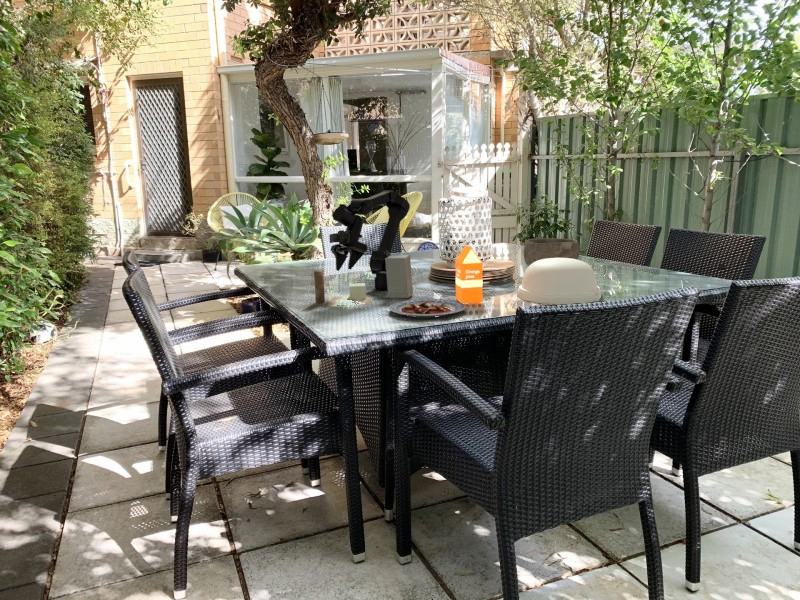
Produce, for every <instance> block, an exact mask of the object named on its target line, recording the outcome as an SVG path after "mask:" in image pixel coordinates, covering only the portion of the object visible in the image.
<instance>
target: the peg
mask: <svg viewBox="0 0 800 600" xmlns="http://www.w3.org/2000/svg"><path fill="white" fill-rule="evenodd" d="M324 278H325V277H324V270H320V269H319V270H318V269H317V270H313V279H314V281H313V282H314V297H315V304H319V305H321V304H325V303H326V300H325V299H326V297H325V281H324V280H325V279H324Z"/></svg>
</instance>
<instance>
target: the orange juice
mask: <svg viewBox="0 0 800 600" xmlns="http://www.w3.org/2000/svg"><path fill="white" fill-rule="evenodd" d="M483 281H484V280H483V262H482V261H481V259H480V258H479V256H478V255H477V253H476V252H475V251H474V249H473V248H472V247H471V246H468V245H466V244H465V245H464V246H463V249H461V251H460V253H459V255H458V256H457V258H456V259H455V300H456V299H457V300H458V301H459V302H461V303H477V304H481V303H480V302H482V303H483V283H484V282H483ZM457 300H456V301H457Z"/></svg>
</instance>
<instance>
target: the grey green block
mask: <svg viewBox="0 0 800 600" xmlns="http://www.w3.org/2000/svg"><path fill="white" fill-rule="evenodd" d="M348 285H349V287H348V288H349V296H350V300H353V299H366V295H367V294H366V283H365V282H361V283H360V282H358V283H349V284H348Z"/></svg>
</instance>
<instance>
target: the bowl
mask: <svg viewBox="0 0 800 600" xmlns="http://www.w3.org/2000/svg"><path fill="white" fill-rule="evenodd" d="M579 246H580V245H579V241H578V240H577V239H573V238H572V239H571V238H557V237H556V238H555V237H554V238H552V237H550V238H549V237H548V238H547V237H546V238H545V237H543V238H542V237H541V238H530V239H529V238H528V239H527V240H526V241H525V243H524V246H523V247H524V248H523V259H524V262H525V264H526V266H527V268H528V267H529V265H531V264H532V263H534V262H536V261H538V260H541V259H547V258H571V259H577V260H579V258H580V257H579V256H580V247H579Z"/></svg>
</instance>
